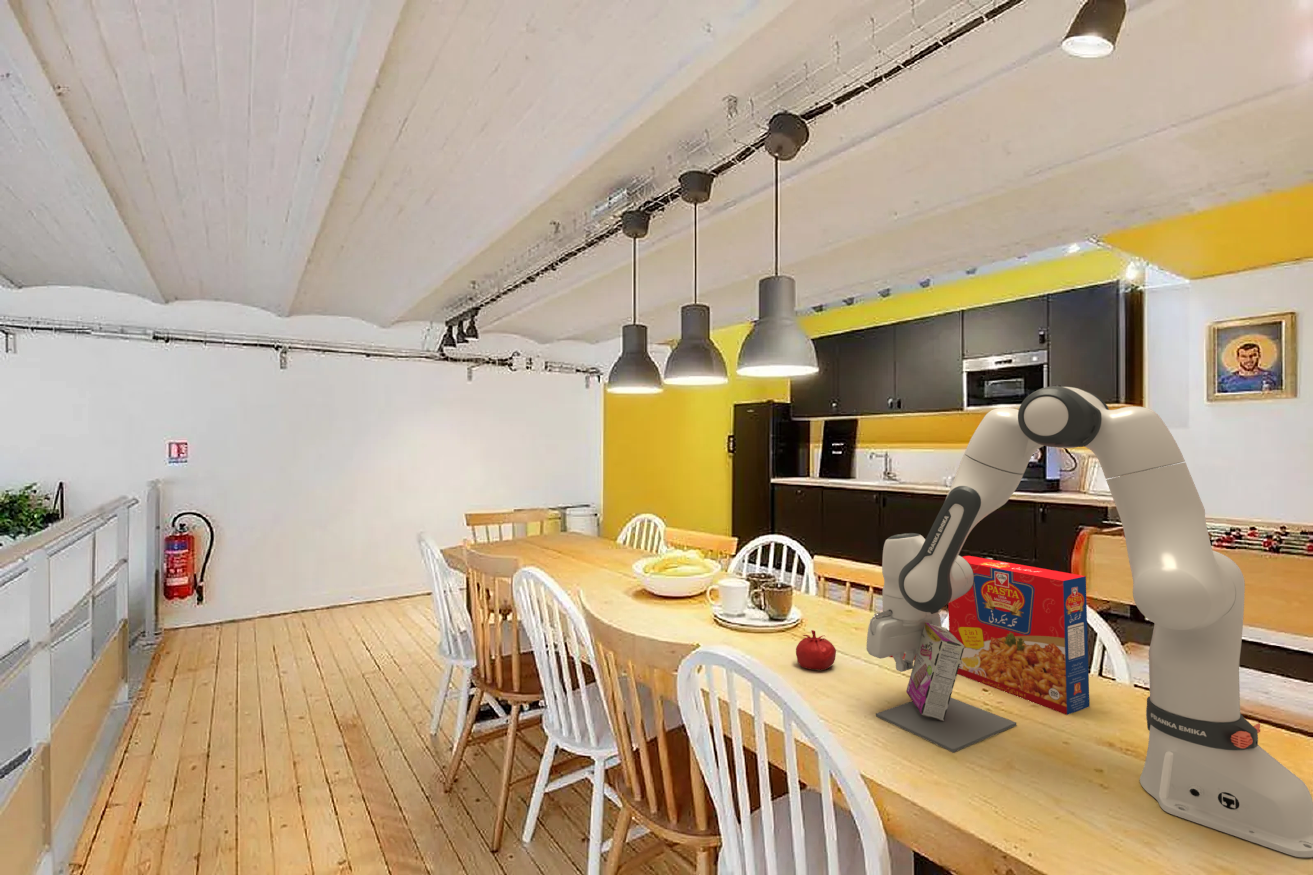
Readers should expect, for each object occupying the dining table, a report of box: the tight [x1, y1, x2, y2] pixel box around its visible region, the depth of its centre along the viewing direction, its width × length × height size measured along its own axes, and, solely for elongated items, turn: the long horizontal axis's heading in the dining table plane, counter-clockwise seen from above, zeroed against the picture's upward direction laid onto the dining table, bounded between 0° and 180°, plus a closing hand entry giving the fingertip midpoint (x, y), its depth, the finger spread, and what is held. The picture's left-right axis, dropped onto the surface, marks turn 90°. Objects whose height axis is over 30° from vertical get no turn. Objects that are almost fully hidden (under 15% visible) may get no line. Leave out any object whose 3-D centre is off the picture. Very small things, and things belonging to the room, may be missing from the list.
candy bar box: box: [905, 623, 965, 721], centre depth 132 cm, size 11×5×16 cm, turn 174°
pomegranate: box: [795, 629, 837, 671], centre depth 160 cm, size 10×10×9 cm
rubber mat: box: [875, 696, 1017, 754], centre depth 128 cm, size 18×20×1 cm
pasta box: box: [947, 555, 1090, 716], centre depth 144 cm, size 28×8×28 cm, turn 26°
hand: (904, 669), depth 137 cm, fingers closed
